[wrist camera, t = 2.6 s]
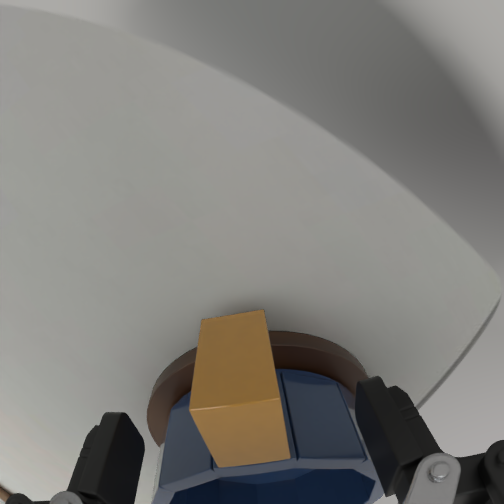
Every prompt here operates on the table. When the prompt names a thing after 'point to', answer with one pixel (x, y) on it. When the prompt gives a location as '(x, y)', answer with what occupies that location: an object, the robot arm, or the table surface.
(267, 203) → the table surface
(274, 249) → the table surface
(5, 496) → the bowl
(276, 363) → the turntable
